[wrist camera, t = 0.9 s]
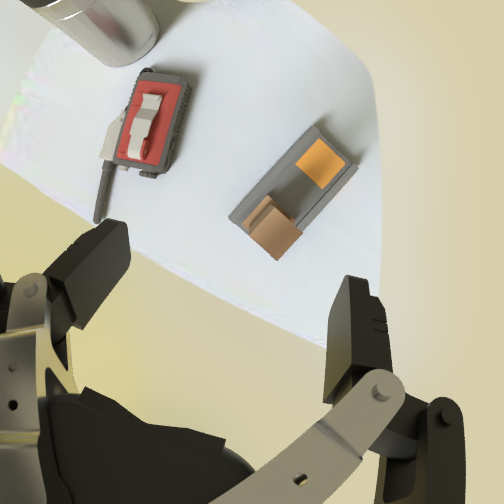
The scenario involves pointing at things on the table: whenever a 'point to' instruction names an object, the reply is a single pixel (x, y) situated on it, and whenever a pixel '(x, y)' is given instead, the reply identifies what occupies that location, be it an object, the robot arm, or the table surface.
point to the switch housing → (300, 180)
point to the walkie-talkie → (144, 129)
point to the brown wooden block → (272, 227)
